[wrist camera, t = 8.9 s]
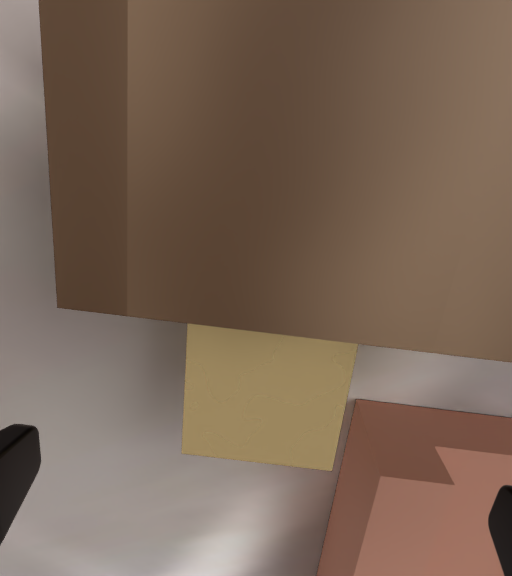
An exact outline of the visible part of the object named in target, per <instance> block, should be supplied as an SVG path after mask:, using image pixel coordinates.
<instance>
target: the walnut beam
mask: <svg viewBox="0 0 512 576" xmlns="http://www.w3.org/2000/svg"><path fill="white" fill-rule="evenodd" d="M39 14H40V31H41V47H42V63H43V80H44V96H45V113H46V129H47V145H48V162H49V178H50V195H51V211H52V227H53V244H54V260H55V276H56V293H57V308H64V309H72V310H80V311H89V312H97V313H105V314H113V315H122V316H130V317H138V318H147V319H155V320H163V321H172V322H180V323H188V324H196V325H205V326H213V327H221V328H230V329H238V330H246V331H255V332H263V333H271V334H279V335H288V336H296V337H304V338H313V339H321V340H329V341H337V342H346V343H354V344H362V345H371V346H379V347H387V348H396V349H404V350H412V351H420V352H429V353H437V354H445V355H454V356H462V357H470V358H479V359H487V360H495V361H503V362H512V0H39Z"/></svg>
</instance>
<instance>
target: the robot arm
mask: <svg viewBox="0 0 512 576" xmlns="http://www.w3.org/2000/svg"><path fill="white" fill-rule="evenodd" d="M40 464H41V454H40V442H39V432H38V429H37V428H36V427H35V426H32V425H24V424H13V425H11V426H9V427H6V428H4V429H2V430H0V545H1V543H2V541H3V540H4V538H5V536H6V534H7V532H8V530H9V528H10V526H11V524H12V522H13V520H14V518H15V516H16V514H17V512H18V510H19V508H20V506H21V504H22V502H23V501H24V499H25V497H26V495H27V493H28V491H29V489H30V487H31V485H32V483H33V481H34V479H35V477H36V475H37V473H38V471H39V468H40ZM488 527H489V531H490V534H491V537H492V540H493V543H494V546H495V549H496V552H497V555H498V558H499V561H500V564H501V567H502V570H503V573H504V576H512V485H503V486H502V487H501V488H500V489H499V491H498V493H497V496H496V498H495V501H494V503H493V506H492V508H491V511H490V513H489V517H488Z"/></svg>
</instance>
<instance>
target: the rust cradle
mask: <svg viewBox="0 0 512 576" xmlns="http://www.w3.org/2000/svg"><path fill="white" fill-rule="evenodd" d="M503 485H512V418H507V417H499V416H490V415H482V414H474V413H466V412H458V411H449V410H441V409H433V408H425V407H417V406H409V405H400V404H392V403H384V402H376V401H368V400H359V399H356V403H355V407H354V412H353V416H352V421H351V425H350V430H349V434H348V438H347V443H346V447H345V452H344V456H343V460H342V465H341V469H340V474H339V478H338V482H337V487H336V491H335V496H334V500H333V505H332V509H331V513H330V518H329V522H328V527H327V531H326V535H325V540H324V544H323V549H322V553H321V557H320V562H319V566H318V571H317V575H316V576H504V573H503V570H502V567H501V564H500V561H499V558H498V555H497V552H496V549H495V546H494V543H493V540H492V537H491V534H490V531H489V527H488V517H489V513H490V511H491V508H492V506H493V503H494V501H495V498H496V496H497V493H498V491H499V489H500V488H501V487H502V486H503Z"/></svg>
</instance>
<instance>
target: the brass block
mask: <svg viewBox="0 0 512 576" xmlns="http://www.w3.org/2000/svg"><path fill="white" fill-rule="evenodd" d="M357 348H358V344H354V343H346V342H337V341H329V340H321V339H313V338H304V337H296V336H288V335H279V334H271V333H263V332H255V331H246V330H238V329H230V328H221V327H213V326H205V325H196V324H188V325H187V346H186V367H185V389H184V410H183V431H182V454H190V455H199V456H207V457H216V458H224V459H233V460H241V461H250V462H258V463H267V464H275V465H284V466H292V467H301V468H309V469H318V470H326V471H332V469H333V464H334V459H335V454H336V450H337V445H338V440H339V435H340V430H341V426H342V421H343V416H344V411H345V406H346V401H347V397H348V392H349V387H350V382H351V377H352V372H353V368H354V363H355V358H356V353H357Z"/></svg>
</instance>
